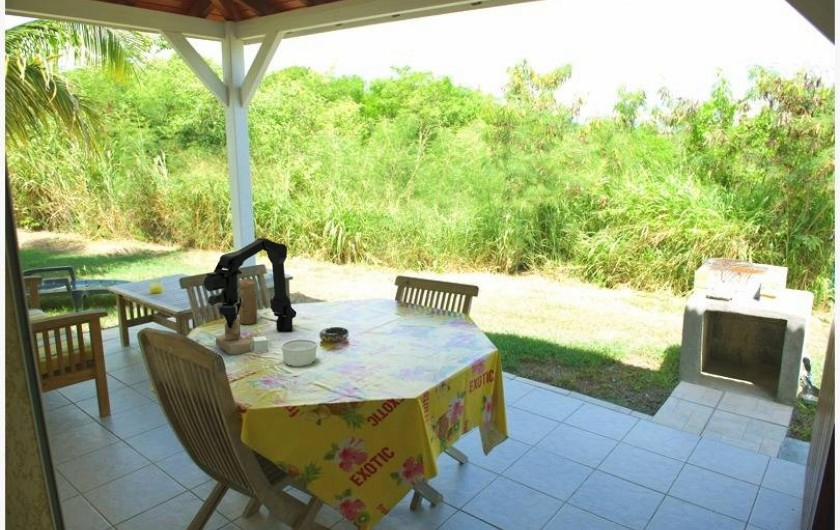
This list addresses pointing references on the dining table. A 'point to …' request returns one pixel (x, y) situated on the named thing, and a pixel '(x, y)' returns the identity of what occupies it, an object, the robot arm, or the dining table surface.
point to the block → (247, 301)
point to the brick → (233, 345)
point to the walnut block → (232, 331)
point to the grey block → (260, 344)
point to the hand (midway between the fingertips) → (232, 324)
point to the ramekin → (299, 351)
